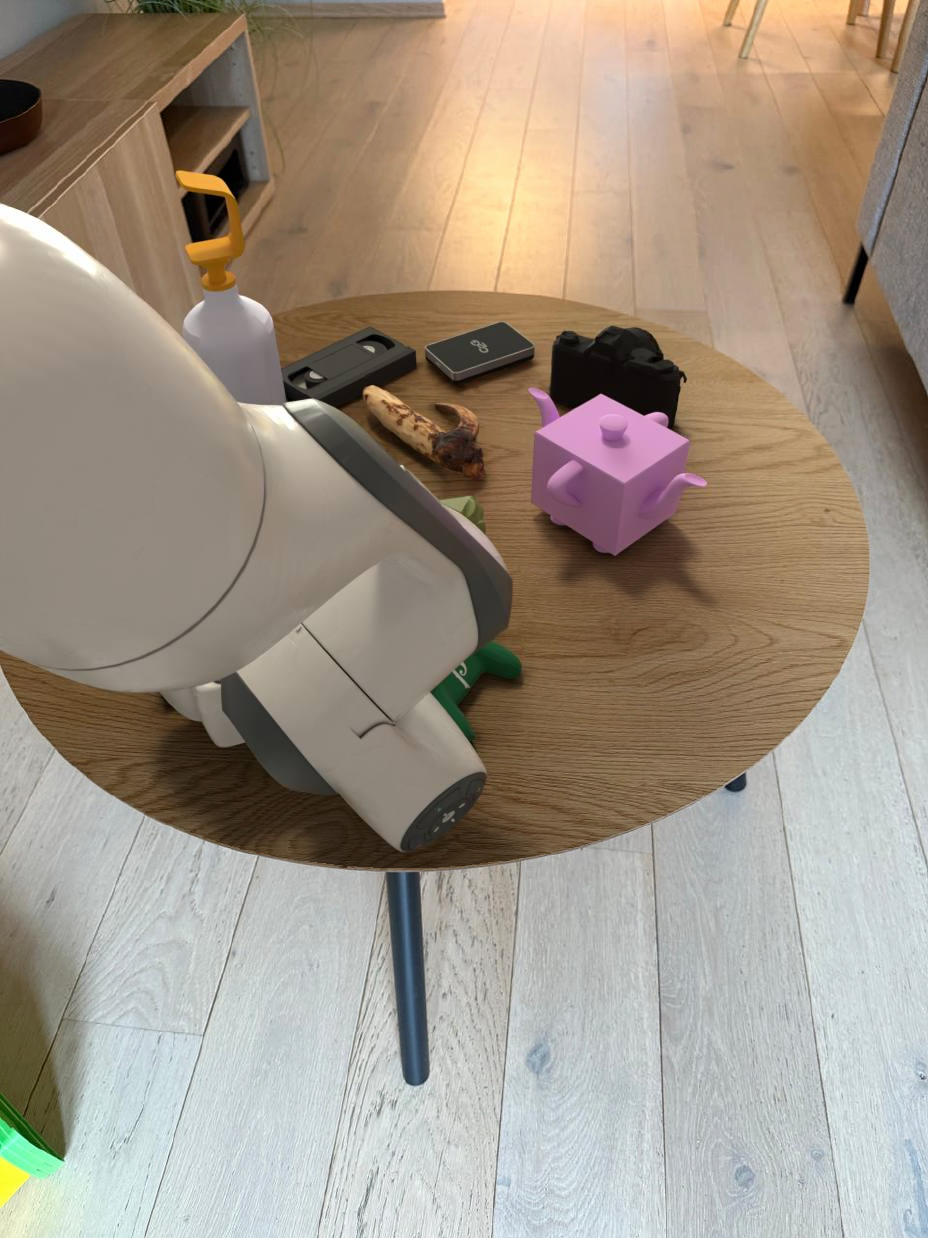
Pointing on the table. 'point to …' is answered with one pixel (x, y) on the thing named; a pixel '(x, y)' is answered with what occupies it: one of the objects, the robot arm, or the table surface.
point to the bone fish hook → (431, 432)
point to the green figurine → (467, 509)
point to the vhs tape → (347, 368)
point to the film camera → (615, 371)
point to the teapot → (608, 470)
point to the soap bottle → (230, 312)
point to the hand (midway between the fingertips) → (229, 559)
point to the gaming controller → (474, 679)
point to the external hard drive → (479, 352)
